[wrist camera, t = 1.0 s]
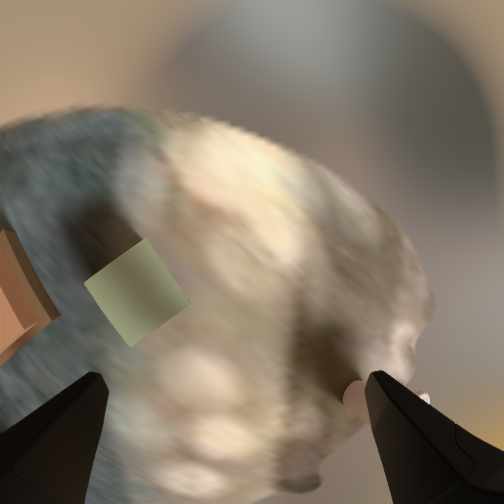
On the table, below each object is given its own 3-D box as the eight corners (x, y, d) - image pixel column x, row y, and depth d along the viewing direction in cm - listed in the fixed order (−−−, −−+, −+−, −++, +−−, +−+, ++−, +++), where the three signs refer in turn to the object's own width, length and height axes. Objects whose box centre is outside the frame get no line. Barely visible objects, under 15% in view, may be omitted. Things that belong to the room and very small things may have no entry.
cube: (132, 329, 20) (130, 347, 15) (96, 278, 19) (83, 282, 14) (180, 294, 22) (191, 303, 17) (145, 243, 21) (146, 237, 16)
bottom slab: (9, 359, 15) (-4, 369, 12) (-33, 283, 14) (-49, 285, 11) (62, 314, 18) (51, 320, 15) (17, 233, 16) (3, 228, 14)
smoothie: (331, 386, 27) (431, 432, 14) (369, 361, 30) (466, 389, 17) (336, 424, 28) (421, 473, 15) (372, 399, 30) (456, 433, 17)
